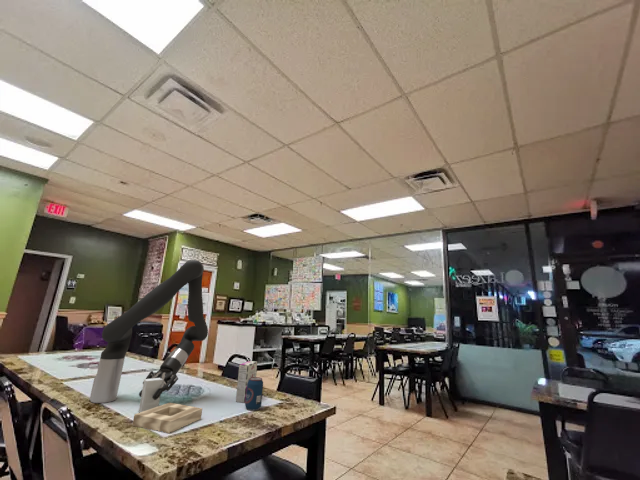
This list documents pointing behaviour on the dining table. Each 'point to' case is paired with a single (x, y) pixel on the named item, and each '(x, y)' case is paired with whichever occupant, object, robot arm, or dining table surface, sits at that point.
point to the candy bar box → (245, 379)
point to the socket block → (167, 417)
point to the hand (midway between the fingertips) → (147, 397)
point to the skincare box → (149, 394)
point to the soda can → (254, 393)
